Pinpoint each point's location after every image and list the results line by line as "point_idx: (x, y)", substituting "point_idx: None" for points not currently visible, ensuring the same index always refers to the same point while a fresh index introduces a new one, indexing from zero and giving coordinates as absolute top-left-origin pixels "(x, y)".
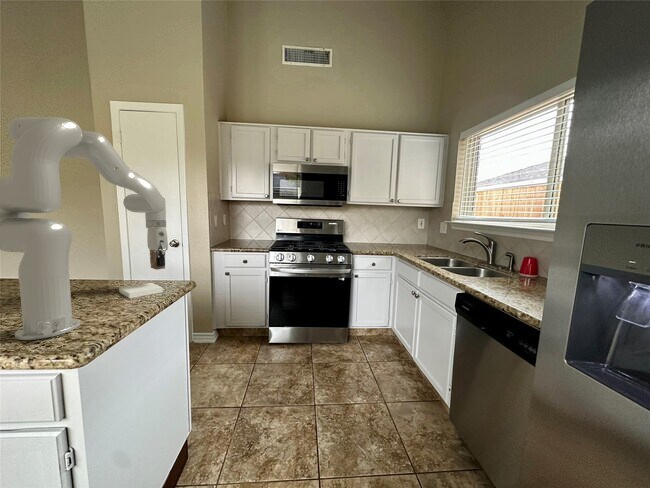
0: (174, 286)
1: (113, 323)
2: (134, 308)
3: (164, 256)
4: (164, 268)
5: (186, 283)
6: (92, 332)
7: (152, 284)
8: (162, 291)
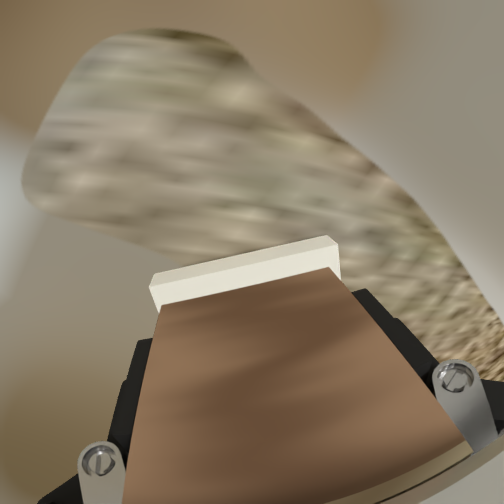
0: (206, 141)
1: (491, 359)
2: (450, 337)
3: (461, 368)
4: (331, 274)
5: (162, 55)
6: (494, 376)
7: (209, 287)
8: (327, 237)
